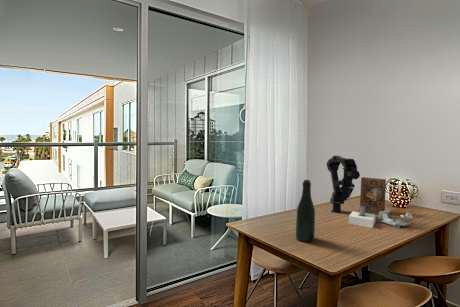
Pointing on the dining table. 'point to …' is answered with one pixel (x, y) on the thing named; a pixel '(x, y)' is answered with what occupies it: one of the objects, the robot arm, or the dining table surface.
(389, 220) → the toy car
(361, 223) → the socket block
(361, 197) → the book
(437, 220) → the dining table surface
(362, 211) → the peg
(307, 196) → the beer bottle
